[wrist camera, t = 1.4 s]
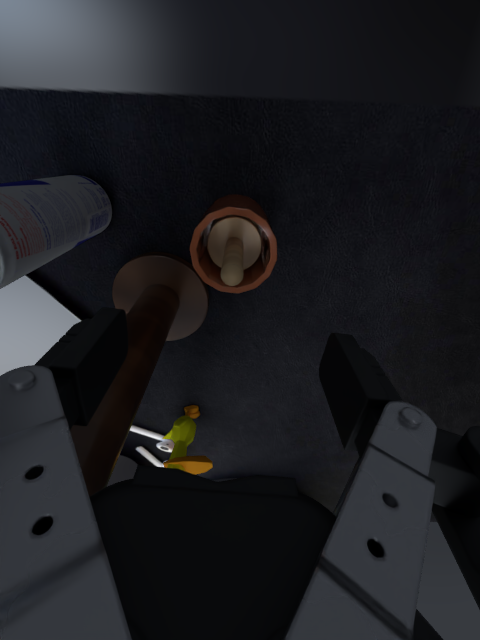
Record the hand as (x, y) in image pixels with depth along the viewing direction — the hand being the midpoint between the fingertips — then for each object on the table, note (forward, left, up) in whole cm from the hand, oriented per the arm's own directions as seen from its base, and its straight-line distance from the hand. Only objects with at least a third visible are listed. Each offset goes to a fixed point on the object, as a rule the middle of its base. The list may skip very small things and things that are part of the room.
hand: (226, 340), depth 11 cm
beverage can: (-1, -14, -19) cm, 24 cm away
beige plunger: (0, 0, -19) cm, 19 cm away
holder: (0, 0, -19) cm, 19 cm away
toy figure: (+25, -3, -19) cm, 32 cm away
